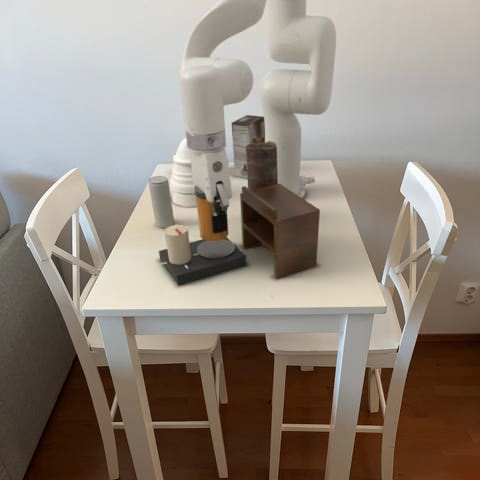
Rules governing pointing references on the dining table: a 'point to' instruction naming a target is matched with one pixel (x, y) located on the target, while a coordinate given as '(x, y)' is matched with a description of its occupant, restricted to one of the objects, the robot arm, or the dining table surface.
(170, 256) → the knob
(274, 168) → the candle
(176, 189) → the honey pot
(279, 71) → the robot arm
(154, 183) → the beverage can
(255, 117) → the coffee box
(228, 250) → the pale grey disc
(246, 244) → the shelf
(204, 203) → the jar
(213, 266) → the hot plate
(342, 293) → the dining table surface
